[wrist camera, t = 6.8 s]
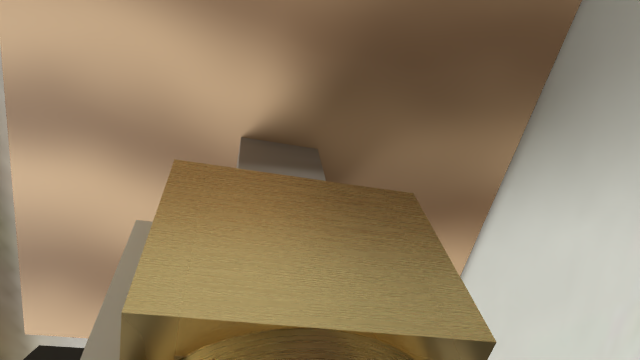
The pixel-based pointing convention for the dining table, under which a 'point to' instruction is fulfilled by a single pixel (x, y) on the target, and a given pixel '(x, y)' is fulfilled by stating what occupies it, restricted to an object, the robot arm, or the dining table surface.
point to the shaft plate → (254, 114)
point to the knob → (294, 275)
